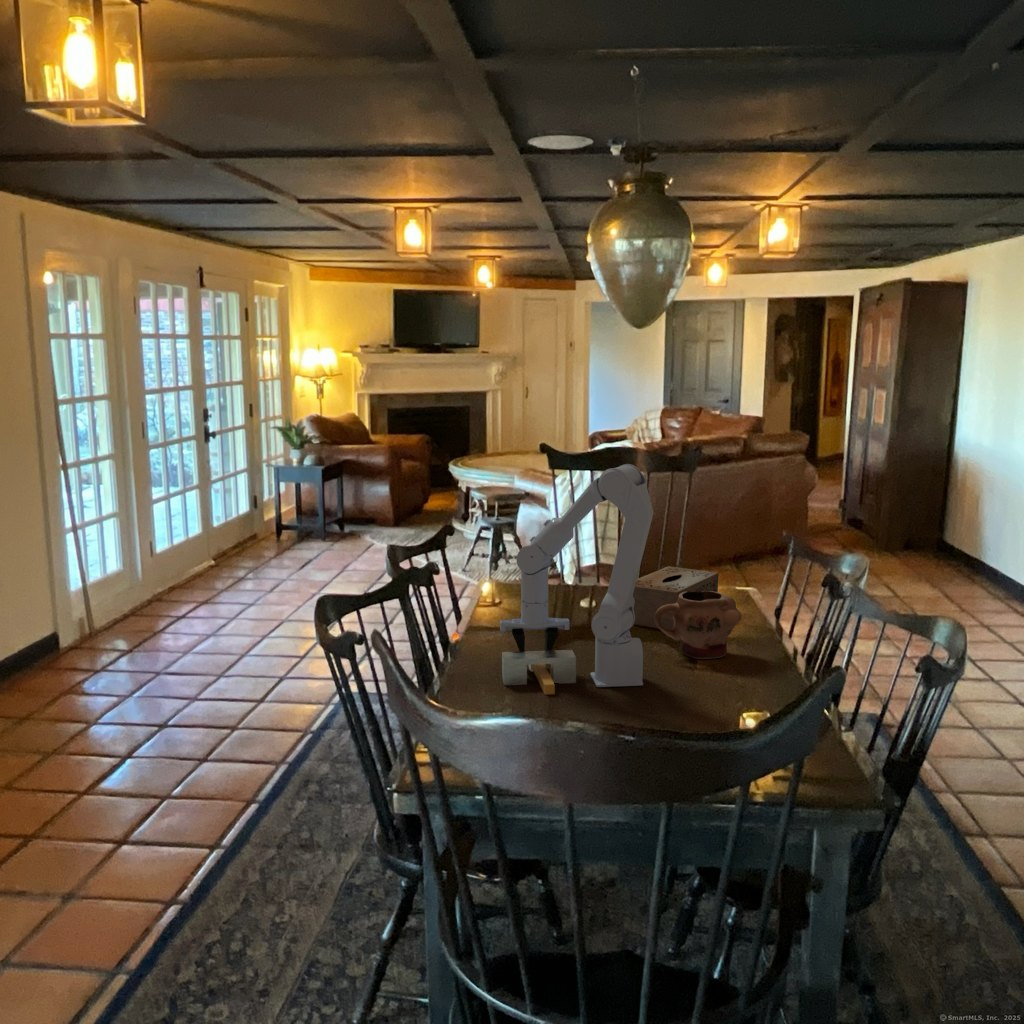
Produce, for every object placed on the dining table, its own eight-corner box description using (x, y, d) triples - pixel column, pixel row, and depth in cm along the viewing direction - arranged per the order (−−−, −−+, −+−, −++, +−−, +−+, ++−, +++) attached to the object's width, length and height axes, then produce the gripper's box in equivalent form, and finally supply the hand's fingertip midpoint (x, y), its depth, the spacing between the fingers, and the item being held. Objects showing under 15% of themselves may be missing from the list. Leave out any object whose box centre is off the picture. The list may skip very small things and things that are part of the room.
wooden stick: (557, 693, 181) (557, 679, 180) (541, 694, 181) (541, 680, 180) (543, 666, 198) (543, 652, 197) (528, 667, 197) (528, 653, 197)
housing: (571, 674, 192) (572, 649, 191) (575, 682, 187) (575, 657, 186) (502, 677, 191) (502, 652, 190) (504, 685, 186) (504, 659, 185)
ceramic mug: (667, 667, 197) (668, 604, 195) (644, 650, 208) (645, 590, 206) (751, 659, 202) (753, 597, 200) (723, 643, 214) (725, 584, 211)
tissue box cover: (675, 632, 223) (676, 592, 222) (622, 623, 232) (623, 584, 230) (717, 609, 244) (718, 572, 243) (667, 601, 252) (668, 566, 251)
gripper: (566, 594, 198) (565, 655, 200) (498, 596, 197) (499, 657, 199) (571, 603, 191) (570, 666, 193) (501, 605, 190) (501, 668, 192)
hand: (534, 662), depth 196 cm, fingers open, 4 cm apart
